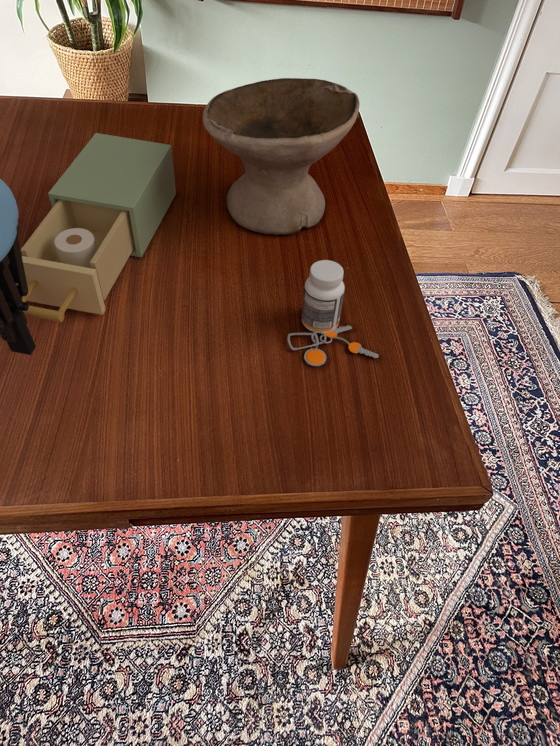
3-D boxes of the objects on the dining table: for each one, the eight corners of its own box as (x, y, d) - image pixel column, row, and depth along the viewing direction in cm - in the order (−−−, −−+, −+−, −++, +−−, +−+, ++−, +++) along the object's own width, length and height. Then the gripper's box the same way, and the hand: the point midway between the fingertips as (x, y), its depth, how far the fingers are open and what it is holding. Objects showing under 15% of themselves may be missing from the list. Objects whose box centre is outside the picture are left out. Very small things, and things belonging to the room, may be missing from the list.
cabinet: (141, 257, 94) (133, 207, 86) (62, 243, 95) (47, 193, 88) (176, 193, 106) (171, 144, 98) (105, 181, 107) (95, 132, 99)
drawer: (85, 345, 80) (73, 305, 74) (2, 329, 81) (-17, 289, 75) (143, 241, 95) (136, 201, 89) (72, 229, 96) (61, 188, 90)
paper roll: (56, 275, 87) (46, 246, 83) (75, 253, 91) (66, 224, 86) (89, 284, 87) (81, 255, 82) (107, 261, 90) (100, 232, 86)
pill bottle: (315, 304, 90) (322, 252, 82) (346, 321, 87) (355, 268, 80) (293, 323, 86) (298, 270, 79) (324, 341, 84) (332, 288, 77)
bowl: (295, 154, 116) (304, 49, 101) (373, 221, 104) (397, 113, 88) (181, 188, 107) (171, 78, 91) (251, 267, 94) (254, 155, 78)
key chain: (292, 368, 81) (293, 364, 80) (284, 330, 85) (285, 326, 85) (380, 361, 83) (381, 357, 82) (367, 324, 87) (368, 320, 87)
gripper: (-47, 241, 53) (27, 393, 72) (20, 166, 61) (71, 319, 80) (-122, 228, 54) (-29, 381, 72) (-46, 155, 62) (20, 309, 80)
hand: (23, 348), depth 76 cm, fingers closed
